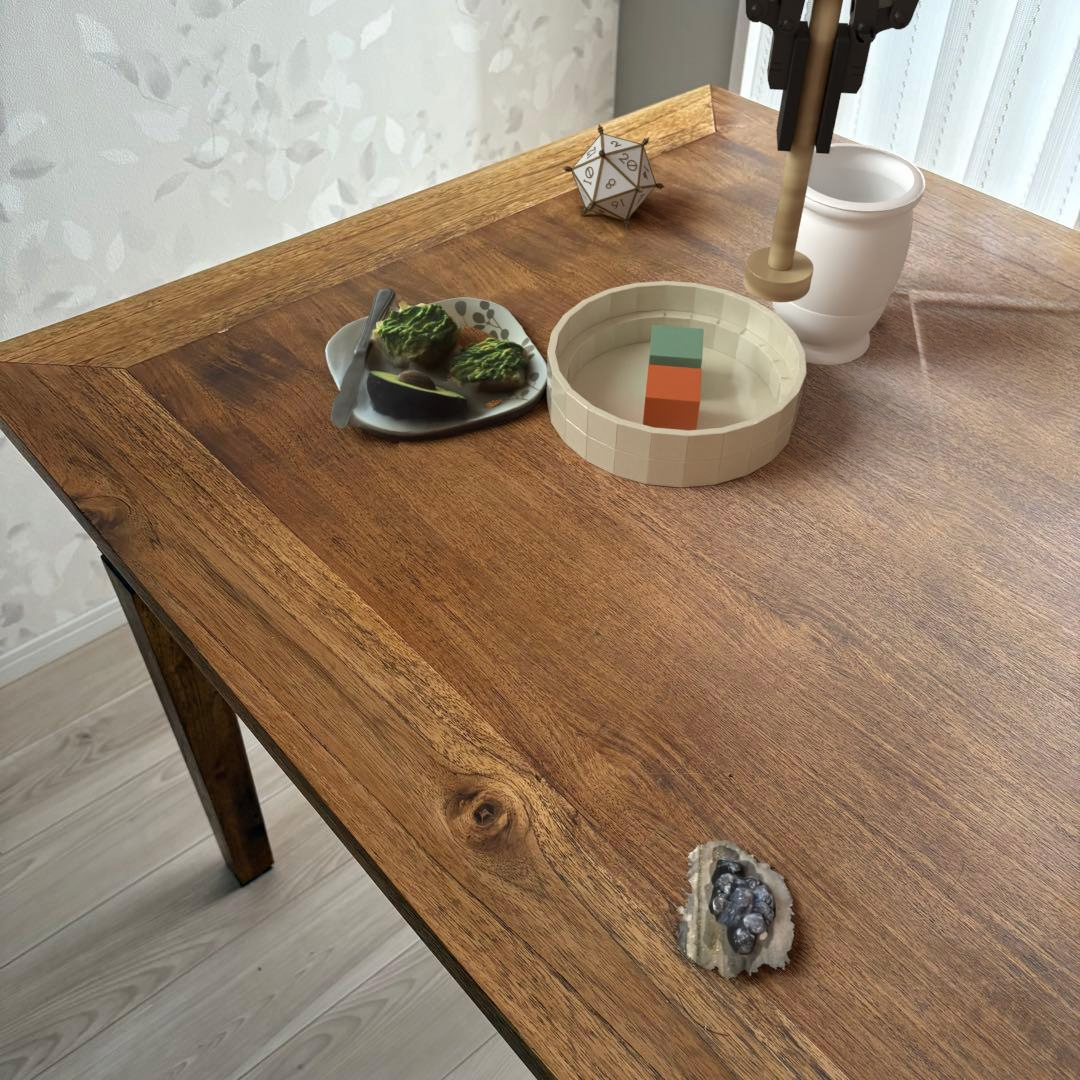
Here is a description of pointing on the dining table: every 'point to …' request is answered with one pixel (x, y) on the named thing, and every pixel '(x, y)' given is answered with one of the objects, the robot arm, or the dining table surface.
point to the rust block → (672, 397)
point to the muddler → (797, 172)
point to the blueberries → (734, 911)
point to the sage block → (676, 346)
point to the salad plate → (432, 369)
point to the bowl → (726, 383)
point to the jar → (851, 247)
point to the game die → (614, 176)
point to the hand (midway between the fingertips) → (802, 141)
